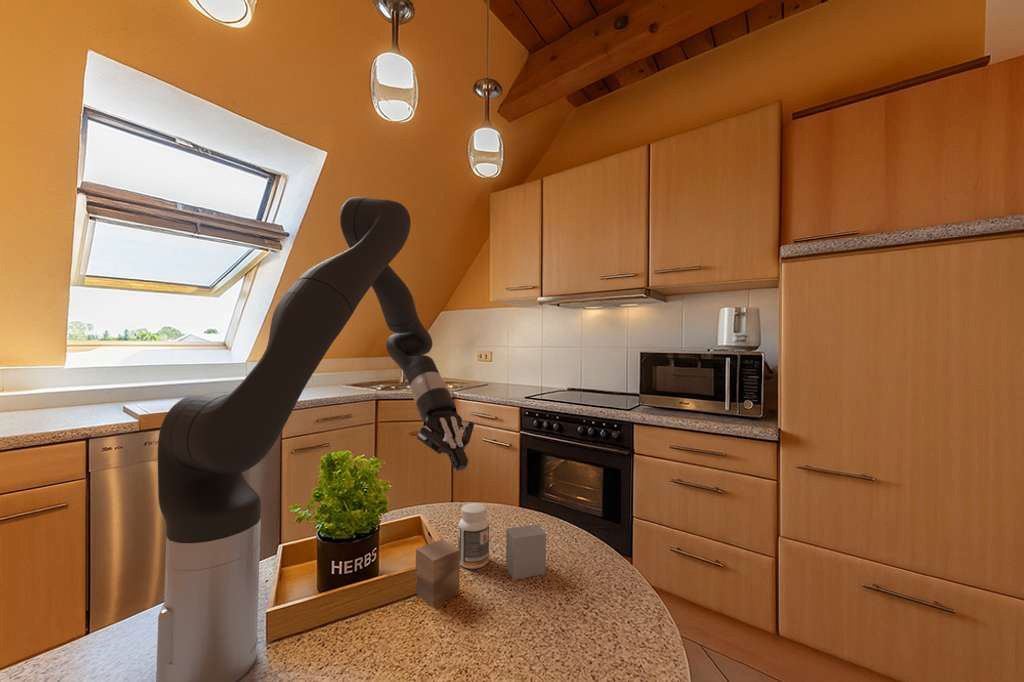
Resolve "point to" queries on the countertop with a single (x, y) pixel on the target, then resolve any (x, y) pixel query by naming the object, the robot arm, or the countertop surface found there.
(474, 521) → the pill bottle
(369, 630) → the countertop surface
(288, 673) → the countertop surface
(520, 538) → the slate block
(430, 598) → the walnut block
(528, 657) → the countertop surface
